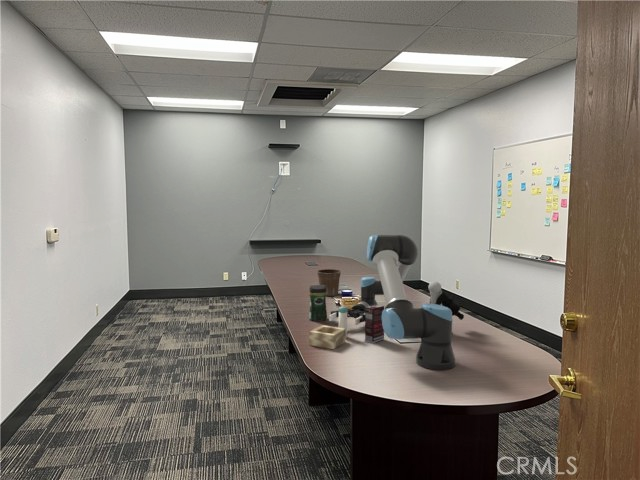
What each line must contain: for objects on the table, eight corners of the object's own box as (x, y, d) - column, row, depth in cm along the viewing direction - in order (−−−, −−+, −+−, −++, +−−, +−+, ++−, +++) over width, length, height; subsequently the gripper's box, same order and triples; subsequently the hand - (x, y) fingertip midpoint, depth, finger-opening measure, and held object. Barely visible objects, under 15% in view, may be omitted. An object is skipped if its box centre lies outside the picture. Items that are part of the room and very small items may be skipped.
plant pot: (328, 298, 301) (328, 273, 299) (311, 294, 313) (311, 270, 311) (346, 295, 312) (346, 271, 310) (329, 291, 324) (329, 268, 322)
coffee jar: (325, 317, 254) (325, 283, 252) (327, 320, 246) (328, 286, 245) (308, 317, 253) (308, 283, 251) (309, 321, 245) (309, 286, 243)
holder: (345, 341, 211) (345, 328, 211) (333, 349, 201) (333, 335, 200) (321, 337, 217) (321, 325, 216) (309, 344, 206) (309, 331, 206)
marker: (348, 336, 219) (348, 307, 218) (344, 338, 216) (345, 308, 215) (340, 335, 221) (341, 306, 220) (337, 337, 218) (337, 307, 216)
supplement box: (376, 337, 218) (376, 304, 217) (384, 339, 215) (385, 305, 213) (364, 341, 212) (364, 307, 211) (372, 343, 209) (373, 308, 207)
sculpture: (413, 329, 232) (414, 279, 230) (453, 325, 240) (454, 277, 238) (430, 338, 218) (431, 285, 215) (472, 333, 226) (474, 282, 223)
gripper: (383, 321, 232) (367, 331, 213) (338, 314, 243) (319, 324, 225) (383, 306, 231) (367, 315, 212) (338, 300, 243) (319, 309, 224)
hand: (342, 320), depth 218 cm, fingers open, 13 cm apart
